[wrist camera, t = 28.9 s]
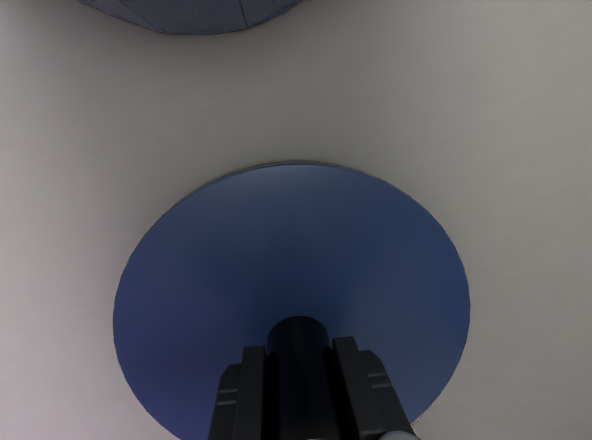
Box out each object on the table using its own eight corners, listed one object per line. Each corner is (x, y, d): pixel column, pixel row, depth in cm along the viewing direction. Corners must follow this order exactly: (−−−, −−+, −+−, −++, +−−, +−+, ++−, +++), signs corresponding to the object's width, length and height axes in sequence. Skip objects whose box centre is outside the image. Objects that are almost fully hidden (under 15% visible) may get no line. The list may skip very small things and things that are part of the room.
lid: (442, 427, 16) (538, 600, 10) (163, 460, 15) (97, 665, 9) (471, 144, 11) (666, 170, 6) (83, 175, 11) (-124, 237, 5)
